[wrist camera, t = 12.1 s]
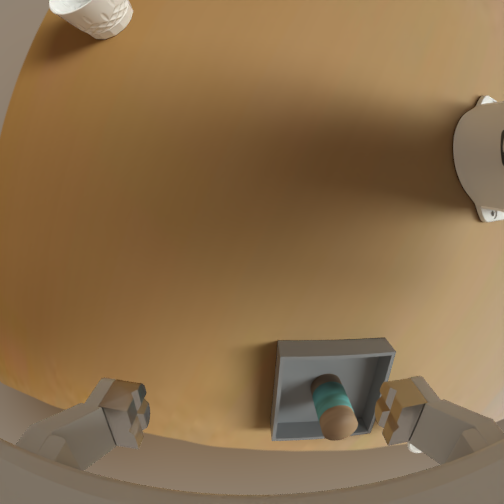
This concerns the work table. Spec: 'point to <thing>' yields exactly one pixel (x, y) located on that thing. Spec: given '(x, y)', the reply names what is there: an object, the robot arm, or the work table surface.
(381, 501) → the robot arm
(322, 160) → the work table surface
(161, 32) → the work table surface
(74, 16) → the white cup
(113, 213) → the work table surface
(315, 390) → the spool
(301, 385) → the bin
